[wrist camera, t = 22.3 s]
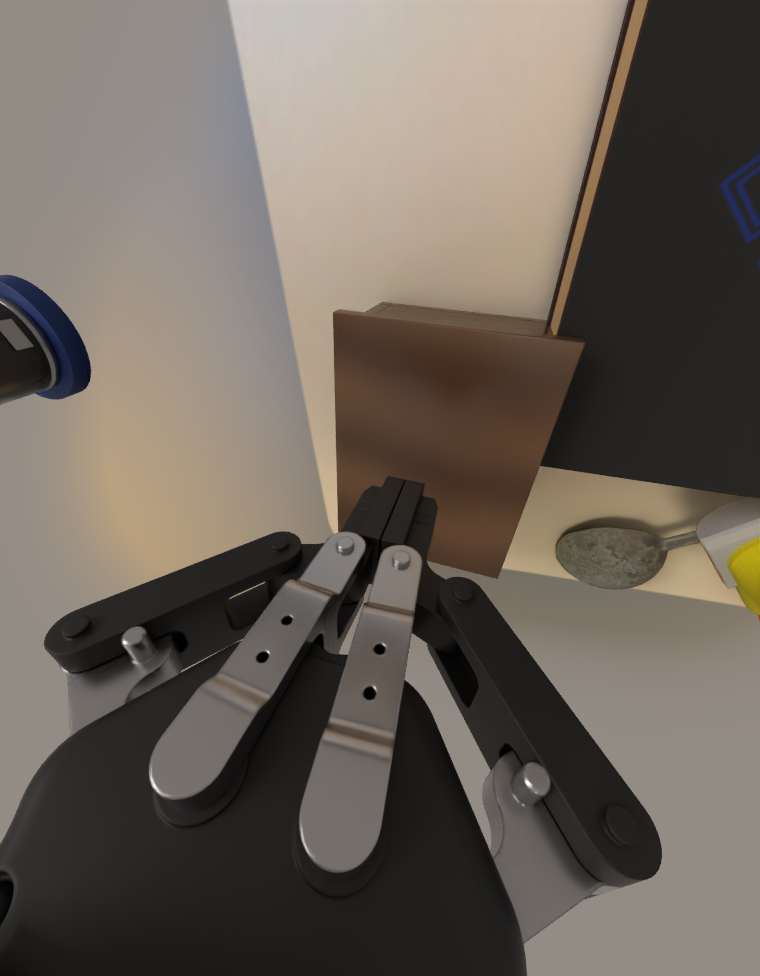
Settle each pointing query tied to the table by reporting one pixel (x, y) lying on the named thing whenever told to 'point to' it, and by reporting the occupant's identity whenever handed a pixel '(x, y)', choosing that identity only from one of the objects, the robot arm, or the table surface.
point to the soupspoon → (616, 555)
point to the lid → (448, 422)
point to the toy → (735, 547)
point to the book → (669, 258)
